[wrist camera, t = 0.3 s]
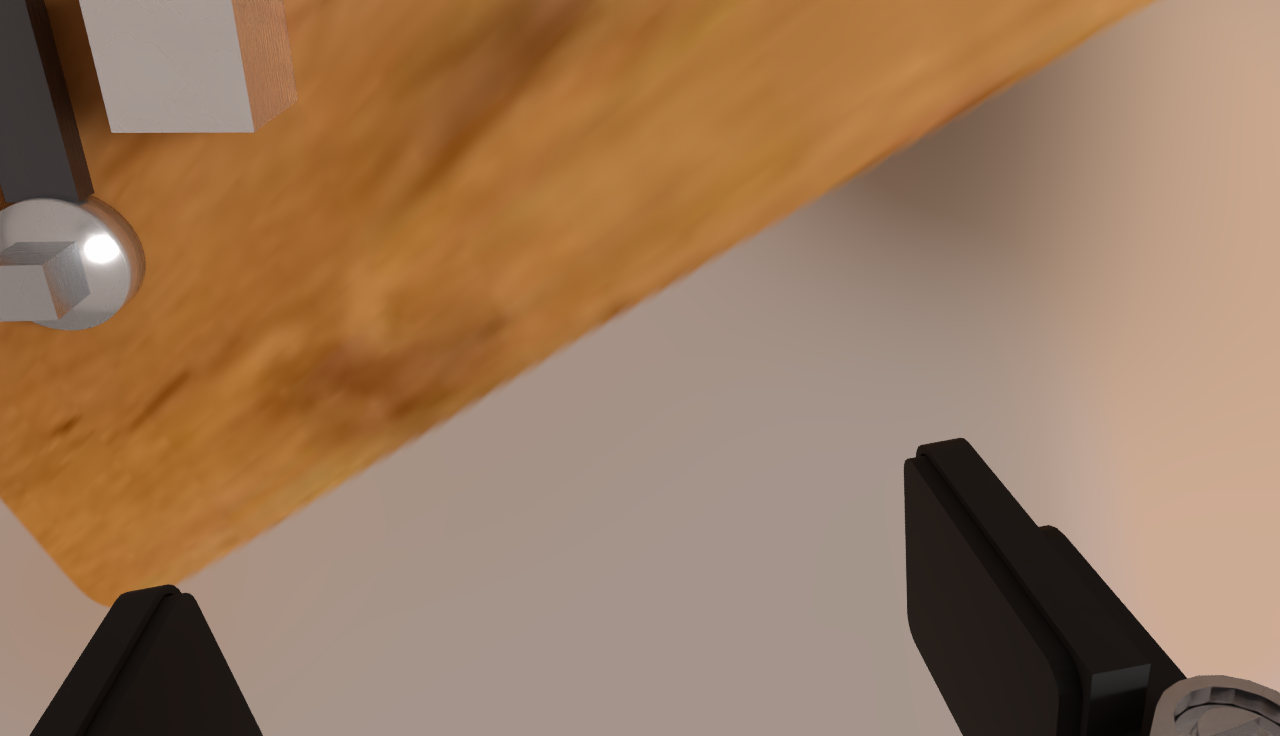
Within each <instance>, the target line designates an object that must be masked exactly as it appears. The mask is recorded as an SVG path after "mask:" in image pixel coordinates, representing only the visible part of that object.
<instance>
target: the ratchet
mask: <svg viewBox="0 0 1280 736" xmlns="http://www.w3.org/2000/svg"><path fill="white" fill-rule="evenodd" d="M0 185H1V188H2V191H3V195H4V198H5V201H6V203H15V204H13V205H11V206H9V207H7V208H5V209H4V210H2V211H0V321H32V322H34V323H37V324H40V325H42V326H45V327H49V328H53V329H60V330H82V329H87V328H91V327H94V326H97V325H99V324H101V323H103V322H105V321H106V320H108V319H109V318H111V317H112V316H113V315H114V314H115V313H116V312H117V311H118V310H119V309H121V308H122V307H123V306H124V305H125V304H126V303H127V302H128V301H129V300H130V299H131V298H132V297H133V296H134V295H135V294H136V293H137V291H138V290H139V288H140V286H141V284H142V282H143V279H144V275H145V255H144V251H143V247H142V244H141V242H140V240H139V238H138V236H137V234H136V232H135V231H134V229H133V228H132V226H131V225H130V224H129V223H128V221H127V220H126V219H125V218H124V217H123V216H122V215H121V214H120V213H119V212H117V211H116V210H115V209H114V208H113V207H111V206H110V205H108V204H106V203H105V202H103V201H101V200H99V199H98V198H96V197H93V196H91V194H93V193H94V190H93V186H92V182H91V178H90V174H89V170H88V167H87V163H86V159H85V155H84V151H83V148H82V144H81V140H80V136H79V132H78V128H77V125H76V121H75V117H74V113H73V109H72V106H71V102H70V98H69V94H68V90H67V87H66V83H65V79H64V75H63V71H62V67H61V64H60V60H59V56H58V52H57V48H56V45H55V41H54V37H53V33H52V29H51V25H50V22H49V18H48V14H47V10H46V6H45V3H44V0H0ZM16 202H17V203H16Z"/></svg>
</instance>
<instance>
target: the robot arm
mask: <svg viewBox="0 0 1280 736" xmlns="http://www.w3.org/2000/svg"><path fill="white" fill-rule="evenodd" d="M904 495H905V534H906V574H907V575H906V577H907V614H908V622H909V627H910V630H911V634H912V637H913V639H914V642H915V644H916V646H917V648H918V650H919V652H920V654H921V655H922V657H923V659H924V661H925V663H926V665H927V667H928V669H929V671H930V673H931V675H932V677H933V679H934V681H935V683H936V684H937V686H938V688H939V690H940V692H941V694H942V696H943V698H944V700H945V702H946V704H947V706H948V708H949V710H950V712H951V713H952V715H953V717H954V719H955V721H956V723H957V725H958V727H959V729H960V731H961V733H962V734H963V736H1280V693H1279V692H1277V691H1276V690H1273V689H1270V688H1268V687H1265V686H1262V685H1260V684H1257V683H1255V682H1252V681H1250V680H1245V679H1239V678H1234V677H1228V676H1224V675H1215V676H1214V675H1211V676H1210V675H1208V676H1206V675H1205V676H1195V677H1192V678H1188V679H1187V678H1186V677H1185V675H1184V674H1183V673H1182V672H1181V671H1180V669H1179V668H1178V667H1177V666H1176V665H1175V664H1174V663H1173V661H1172V660H1171V659H1170V658H1169V657H1168V655H1167V654H1166V653H1165V652H1164V651H1163V650H1162V648H1161V647H1160V646H1159V645H1158V644H1157V643H1156V641H1155V640H1154V639H1153V638H1152V637H1151V636H1150V634H1149V633H1148V632H1147V631H1146V630H1145V629H1144V627H1143V626H1142V625H1141V624H1140V623H1139V621H1138V620H1137V619H1136V618H1135V617H1134V616H1133V614H1132V613H1131V612H1130V611H1129V610H1128V609H1127V608H1126V606H1125V605H1124V604H1123V603H1122V602H1121V601H1120V599H1119V598H1118V597H1117V596H1116V595H1115V593H1114V592H1113V591H1112V590H1111V589H1110V588H1109V586H1108V585H1107V584H1106V583H1105V582H1104V581H1103V579H1102V578H1101V577H1100V576H1099V575H1098V574H1097V572H1096V571H1095V570H1094V569H1093V568H1092V567H1091V565H1090V564H1089V563H1088V562H1087V561H1086V560H1085V558H1084V557H1083V556H1082V555H1081V554H1080V553H1079V551H1078V550H1077V549H1076V548H1075V547H1074V546H1073V544H1071V542H1070V541H1069V540H1068V539H1067V537H1066V536H1065V535H1064V534H1063V533H1061V532H1060V531H1059V530H1058V529H1057V528H1055V527H1052V526H1049V525H1047V526H1042V527H1038V526H1037V525H1036V524H1035V523H1034V521H1033V520H1032V519H1031V518H1030V516H1029V515H1028V514H1027V513H1026V512H1025V510H1024V509H1023V508H1022V507H1021V506H1020V504H1019V503H1018V502H1017V501H1016V499H1015V498H1014V497H1013V496H1012V495H1011V493H1010V492H1009V491H1008V490H1007V488H1006V487H1005V486H1004V485H1003V484H1002V482H1001V481H1000V480H999V479H998V478H997V476H996V475H995V474H994V473H993V472H992V470H991V469H990V468H989V467H988V465H987V464H986V463H985V462H984V461H983V459H982V458H981V457H980V456H979V454H977V452H976V451H975V450H974V448H973V447H972V446H971V445H970V444H969V442H967V441H966V440H965V439H964V438H957V439H952V440H946V441H941V442H935V443H930V444H925V445H920V446H919V447H918V449H917V452H916V457H915V458H910V459H907V460H906V461H905V464H904ZM30 736H263V735H262V733H261V731H260V729H259V727H258V725H257V723H256V721H255V719H254V717H253V715H252V713H251V711H250V709H249V707H248V704H247V702H246V701H245V698H244V696H243V694H242V692H241V691H240V688H239V686H238V684H237V682H236V680H235V679H234V676H233V674H232V672H231V670H230V668H229V666H228V664H227V662H226V660H225V658H224V656H223V654H222V652H221V650H220V648H219V646H218V644H217V642H216V640H215V638H214V636H213V634H212V632H211V630H210V628H209V626H208V624H207V622H206V620H205V618H204V616H203V614H202V612H201V610H200V608H199V606H198V604H197V601H196V600H195V598H194V597H193V596H192V595H191V594H189V593H181V592H180V590H179V589H178V588H176V587H175V586H174V585H163V586H157V587H152V588H147V589H141V590H136V591H130V592H126V593H124V594H121V595H120V596H119V597H118V599H117V600H116V601H115V603H114V604H113V606H112V607H111V609H110V611H109V612H108V614H107V615H106V617H105V618H104V620H103V621H102V623H101V624H100V626H99V628H98V629H97V631H96V632H95V634H94V636H93V637H92V639H91V640H90V642H89V643H88V645H87V647H86V648H85V650H84V651H83V653H82V654H81V656H80V657H79V659H78V661H77V662H76V664H75V665H74V667H73V668H72V670H71V671H70V673H69V675H68V676H67V678H66V679H65V681H64V682H63V684H62V686H61V687H60V689H59V690H58V692H57V693H56V695H55V697H54V698H53V700H52V701H51V703H50V705H49V706H48V708H47V709H46V711H45V712H44V714H43V715H42V717H41V718H40V720H39V722H38V723H37V725H36V726H35V728H34V729H33V731H32V733H31V734H30Z"/></svg>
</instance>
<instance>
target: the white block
mask: <svg viewBox="0 0 1280 736" xmlns="http://www.w3.org/2000/svg"><path fill="white" fill-rule="evenodd" d="M79 2H80V6H81V10H82V15H83V19H84V23H85V27H86V31H87V35H88V39H89V43H90V47H91V51H92V55H93V59H94V63H95V67H96V71H97V76H98V80H99V84H100V88H101V92H102V96H103V100H104V104H105V108H106V112H107V116H108V120H109V124H110V128H111V132H112V133H179V132H256V131H257V130H258V129H260V128H261V127H262V126H264V125H265V124H266V123H268V122H269V121H271V120H272V119H273V118H275V117H276V116H277V115H279V114H280V113H281V112H283V111H284V110H286V109H287V108H288V107H290V106H291V105H292V104H294V103H295V102H296V101H298V97H297V90H296V84H295V77H294V71H293V64H292V57H291V51H290V44H289V37H288V31H287V24H286V18H285V11H284V4H283V0H79Z"/></svg>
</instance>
